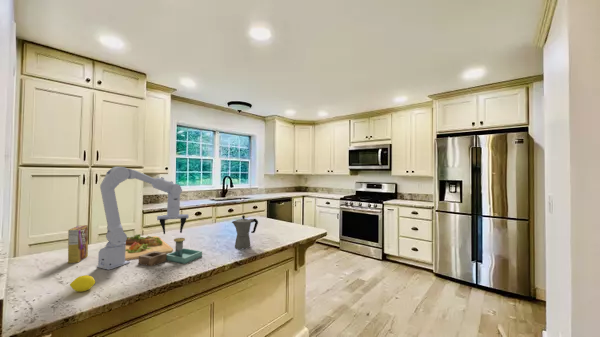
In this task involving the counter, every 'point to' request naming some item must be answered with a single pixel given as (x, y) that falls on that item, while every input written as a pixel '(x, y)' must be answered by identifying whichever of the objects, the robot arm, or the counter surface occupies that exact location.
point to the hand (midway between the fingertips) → (172, 233)
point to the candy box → (77, 243)
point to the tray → (184, 256)
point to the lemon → (82, 283)
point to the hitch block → (152, 258)
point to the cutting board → (144, 246)
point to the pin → (179, 247)
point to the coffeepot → (243, 232)
